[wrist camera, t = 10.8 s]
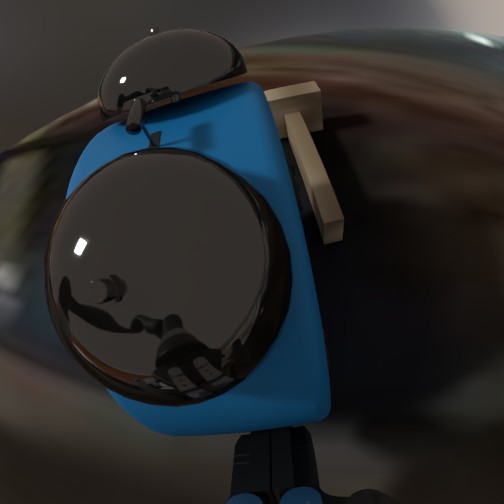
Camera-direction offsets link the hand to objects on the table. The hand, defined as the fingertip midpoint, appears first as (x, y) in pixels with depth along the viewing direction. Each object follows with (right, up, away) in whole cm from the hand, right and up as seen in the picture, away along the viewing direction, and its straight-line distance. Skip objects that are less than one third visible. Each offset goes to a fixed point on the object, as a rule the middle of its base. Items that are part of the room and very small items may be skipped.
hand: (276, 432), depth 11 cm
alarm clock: (-1, +4, +7) cm, 8 cm away
